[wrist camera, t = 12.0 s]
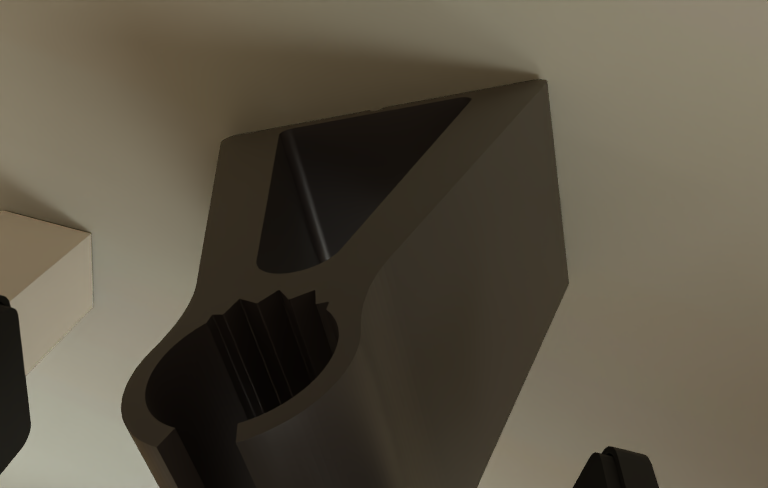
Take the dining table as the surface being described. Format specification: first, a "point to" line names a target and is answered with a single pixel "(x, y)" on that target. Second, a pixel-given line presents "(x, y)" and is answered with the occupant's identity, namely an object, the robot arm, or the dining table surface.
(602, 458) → the robot arm
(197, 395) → the phone stand
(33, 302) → the post
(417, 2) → the dining table surface
